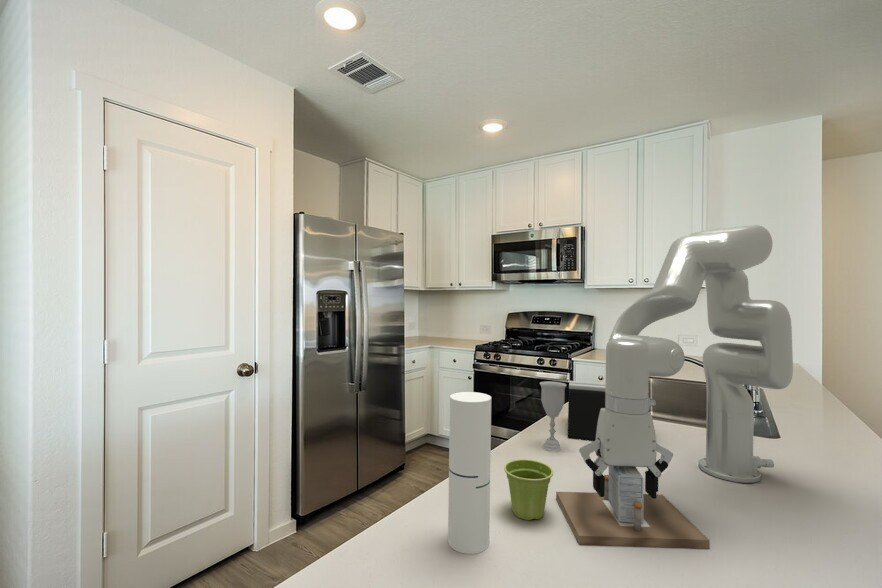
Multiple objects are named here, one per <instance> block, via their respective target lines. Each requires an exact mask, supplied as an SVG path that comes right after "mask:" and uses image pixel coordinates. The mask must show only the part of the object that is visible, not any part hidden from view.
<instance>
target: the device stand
mask: <svg viewBox="0 0 882 588" xmlns="http://www.w3.org/2000/svg"><path fill="white" fill-rule="evenodd" d="M605 383H606V382H605ZM605 383H604V382H593V381H592V382H591V381H582V380H581V381H579V380H569V384H568V404H567V405H568V406H567V408H568V409H567V411H568V412H567V413H568V414H567V439H573V440H579V439H581V441H587V440H589V441H588V442H593V441H595V440H596V431H597V424H598V418H599V413H600V410H601V408H605V393H606V392H605ZM648 412H650V410H649V411H648Z"/></svg>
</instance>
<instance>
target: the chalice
mask: <svg viewBox="0 0 882 588" xmlns="http://www.w3.org/2000/svg"><path fill="white" fill-rule="evenodd" d="M539 385H540V388H541V394H540V395H541V398H540V399H541V404H542V407H543V409H544V412H545V414H546V415H547V417H549V418H550V422H549V426H550V429H549V430H548V431H549V433H550V436H549V438H546V440H545V442H544V443H543V444H544V445H543V446H542V449H543V450H544V451H547V452H550V453H551V452H552V453H554V452H557V453H558V452H561V451H562V447H561V444H560V442H559V440H557V439H556V437H555V433H556V429H555V426H556V423H555V418H558V417H559V415H560V413H561V412H562V410H563V407H564V405H565V390H566V388H567V384H566V383H564V382H559V381H548V380H547V381H540V382H539Z"/></svg>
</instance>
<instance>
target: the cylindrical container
mask: <svg viewBox="0 0 882 588" xmlns="http://www.w3.org/2000/svg"><path fill="white" fill-rule="evenodd" d="M491 435H492V396H491V395H489V394H487V393H483V392H476V391H461V392H455V393H452V394H450V395H449V437H448V438H449V441H448V442H449V443H448V445H449V448H448V449H449V451H448V504H447V505H448V507H447V508H448V510H447V511H448V513H447V514H448V516H447V517H448V519H447V520H448V521H447V542H448V545H449V547H450V548H451V549H453V550H454V551H456V552H458V553H460V554H461V553H462V554H465V555H472V554H473V555H475V554H479V553H482V552H484V551H485V550H487V549H488V548H489V545H490V522H491V521H490V516H491V515H490V512H491V511H490V509H491V508H490V506H491V505H490V504H491V503H490V502H491V501H490V500H491V450H492V449H491V447H492V443H491V441H492V437H491Z"/></svg>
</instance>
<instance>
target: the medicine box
mask: <svg viewBox="0 0 882 588" xmlns="http://www.w3.org/2000/svg"><path fill="white" fill-rule="evenodd" d="M608 475H609V486H608V498H609V502H610V504H611V506H612V508H613V510H614V512H615V514H616V516H617V518H618V520H619V521H620V522H628V523H634V506H633V502H635V501H637V502H640V503H642V508H641V524H642V523H644V496H643V494H644V476H643V475H642V474H641V473H640V471H639V469H638V467H622V466H608Z"/></svg>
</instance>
